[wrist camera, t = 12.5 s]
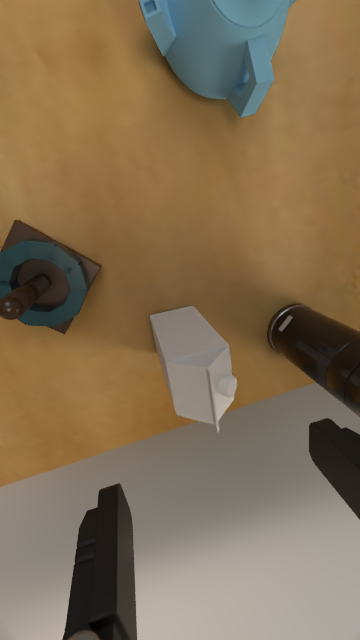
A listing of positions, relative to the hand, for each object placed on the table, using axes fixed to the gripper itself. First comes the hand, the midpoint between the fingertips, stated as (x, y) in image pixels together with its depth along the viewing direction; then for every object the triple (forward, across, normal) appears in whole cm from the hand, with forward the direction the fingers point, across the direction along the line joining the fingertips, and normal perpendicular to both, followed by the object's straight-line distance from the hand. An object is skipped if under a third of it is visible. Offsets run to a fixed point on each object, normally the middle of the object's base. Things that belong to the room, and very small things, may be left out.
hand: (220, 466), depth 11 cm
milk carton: (+32, -3, +7) cm, 33 cm away
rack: (+31, +13, -5) cm, 34 cm away
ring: (+30, +13, -4) cm, 33 cm away
